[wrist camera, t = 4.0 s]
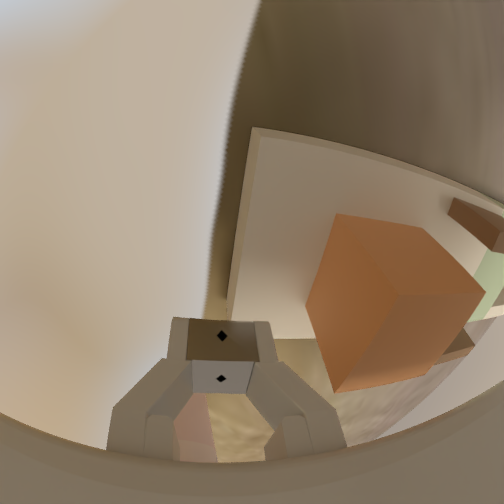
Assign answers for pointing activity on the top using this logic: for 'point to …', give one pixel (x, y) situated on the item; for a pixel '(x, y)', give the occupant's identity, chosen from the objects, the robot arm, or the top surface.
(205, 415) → the smoothie
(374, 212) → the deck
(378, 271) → the block
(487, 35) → the top surface
